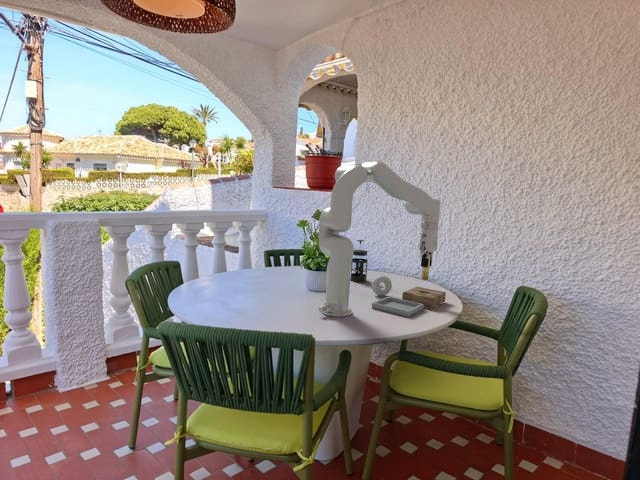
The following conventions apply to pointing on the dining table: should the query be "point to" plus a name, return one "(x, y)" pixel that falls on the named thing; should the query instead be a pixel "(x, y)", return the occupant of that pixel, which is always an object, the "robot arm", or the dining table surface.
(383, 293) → the donut
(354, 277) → the french press
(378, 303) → the tray
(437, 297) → the pin block
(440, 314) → the dining table surface
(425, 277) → the pin
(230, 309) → the dining table surface
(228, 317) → the dining table surface
